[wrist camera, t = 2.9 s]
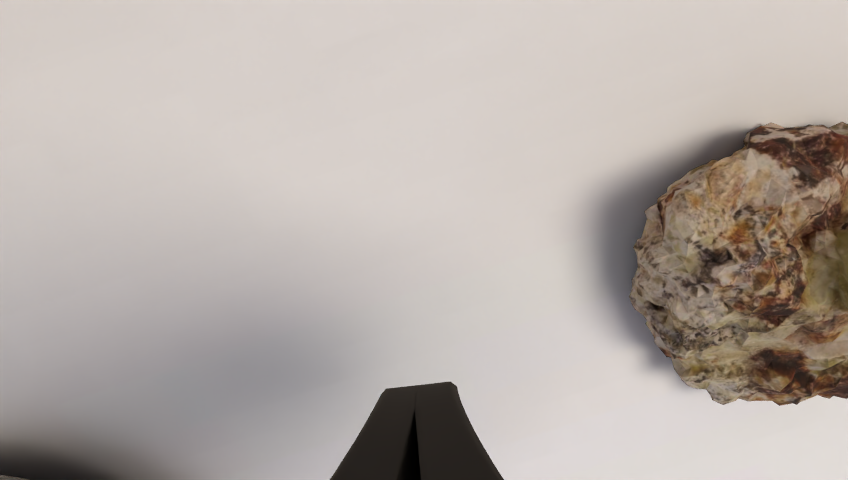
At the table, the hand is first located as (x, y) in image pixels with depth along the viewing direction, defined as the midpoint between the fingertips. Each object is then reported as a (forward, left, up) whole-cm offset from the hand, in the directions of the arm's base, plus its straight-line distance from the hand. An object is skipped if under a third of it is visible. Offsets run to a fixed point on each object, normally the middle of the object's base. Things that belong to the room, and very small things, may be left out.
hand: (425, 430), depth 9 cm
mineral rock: (0, -11, -5) cm, 12 cm away
